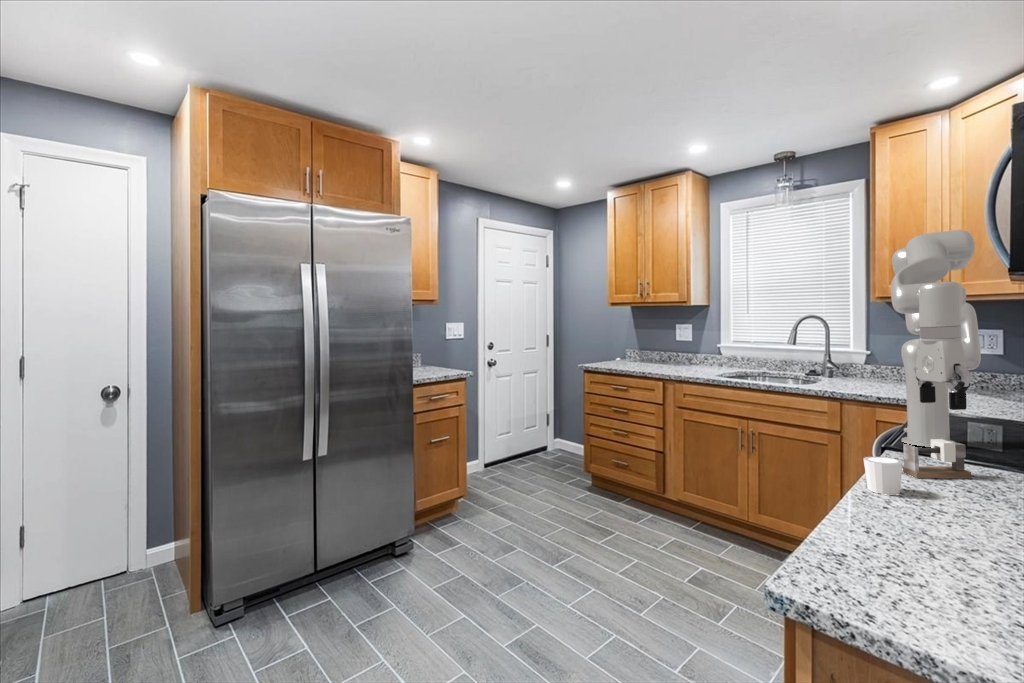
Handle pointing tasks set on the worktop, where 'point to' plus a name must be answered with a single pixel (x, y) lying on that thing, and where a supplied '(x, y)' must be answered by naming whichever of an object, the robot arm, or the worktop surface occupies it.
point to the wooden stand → (934, 471)
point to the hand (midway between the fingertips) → (942, 405)
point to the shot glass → (883, 474)
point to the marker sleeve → (944, 450)
